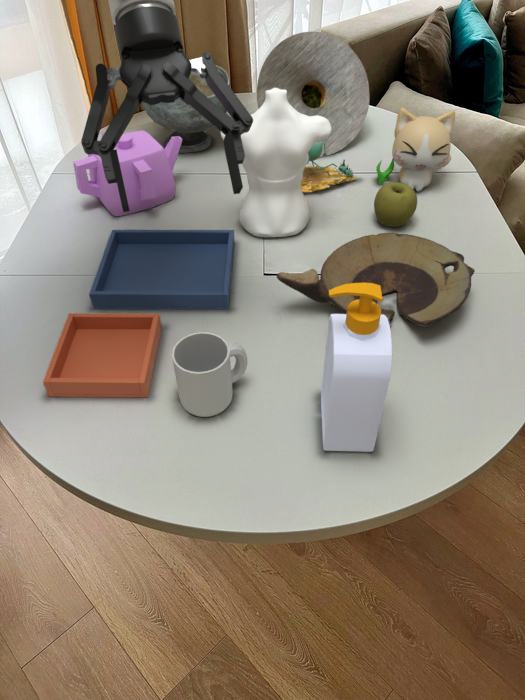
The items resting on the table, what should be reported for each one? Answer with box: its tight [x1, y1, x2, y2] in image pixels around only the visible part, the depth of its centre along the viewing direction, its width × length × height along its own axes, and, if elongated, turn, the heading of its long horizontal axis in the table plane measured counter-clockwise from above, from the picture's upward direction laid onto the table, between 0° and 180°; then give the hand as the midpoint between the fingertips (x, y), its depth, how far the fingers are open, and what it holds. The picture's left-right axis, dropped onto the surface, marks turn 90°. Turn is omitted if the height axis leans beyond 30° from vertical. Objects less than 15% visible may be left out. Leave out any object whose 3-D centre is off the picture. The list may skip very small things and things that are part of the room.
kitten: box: [376, 107, 456, 193], centre depth 110 cm, size 15×10×15 cm
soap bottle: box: [320, 283, 393, 453], centre depth 65 cm, size 9×7×23 cm
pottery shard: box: [275, 232, 476, 327], centre depth 89 cm, size 22×30×8 cm
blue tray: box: [88, 229, 236, 310], centre depth 94 cm, size 22×18×3 cm
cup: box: [171, 331, 248, 418], centre depth 74 cm, size 7×10×9 cm
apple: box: [373, 181, 418, 228], centre depth 103 cm, size 8×8×7 cm
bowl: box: [141, 64, 231, 154], centre depth 123 cm, size 20×19×15 cm
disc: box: [256, 31, 370, 158], centre depth 127 cm, size 25×18×25 cm
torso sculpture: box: [219, 88, 331, 238], centre depth 96 cm, size 18×10×25 cm, turn 95°
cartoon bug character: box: [301, 141, 358, 194], centre depth 111 cm, size 10×18×15 cm, turn 83°
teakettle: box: [73, 130, 182, 217], centre depth 109 cm, size 17×17×12 cm
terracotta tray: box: [42, 312, 163, 398], centre depth 80 cm, size 14×14×3 cm
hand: (183, 200), depth 67 cm, fingers open, 13 cm apart
